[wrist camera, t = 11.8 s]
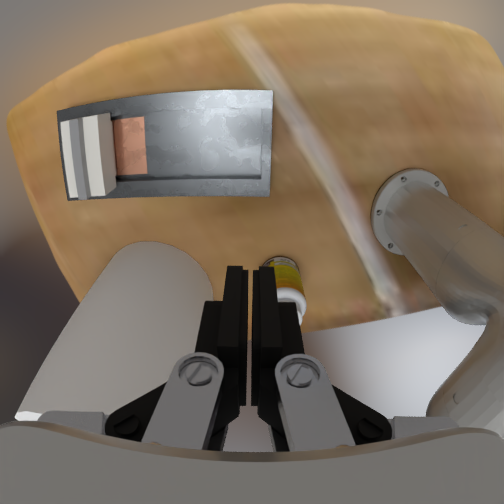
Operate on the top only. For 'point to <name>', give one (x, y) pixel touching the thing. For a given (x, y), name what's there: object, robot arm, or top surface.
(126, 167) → the dark grey tray
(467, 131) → the top surface
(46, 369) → the cylinder
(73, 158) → the slider knob
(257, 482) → the robot arm
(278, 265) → the supplement bottle
